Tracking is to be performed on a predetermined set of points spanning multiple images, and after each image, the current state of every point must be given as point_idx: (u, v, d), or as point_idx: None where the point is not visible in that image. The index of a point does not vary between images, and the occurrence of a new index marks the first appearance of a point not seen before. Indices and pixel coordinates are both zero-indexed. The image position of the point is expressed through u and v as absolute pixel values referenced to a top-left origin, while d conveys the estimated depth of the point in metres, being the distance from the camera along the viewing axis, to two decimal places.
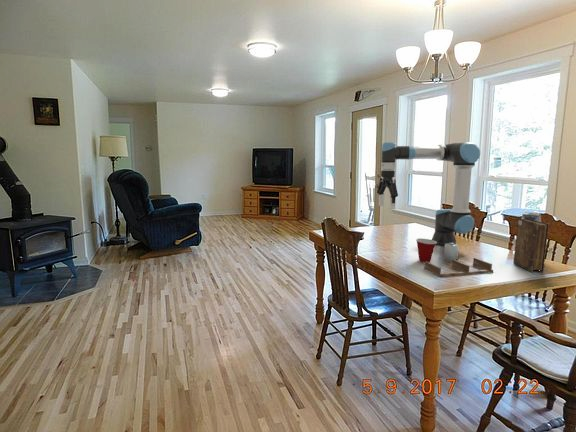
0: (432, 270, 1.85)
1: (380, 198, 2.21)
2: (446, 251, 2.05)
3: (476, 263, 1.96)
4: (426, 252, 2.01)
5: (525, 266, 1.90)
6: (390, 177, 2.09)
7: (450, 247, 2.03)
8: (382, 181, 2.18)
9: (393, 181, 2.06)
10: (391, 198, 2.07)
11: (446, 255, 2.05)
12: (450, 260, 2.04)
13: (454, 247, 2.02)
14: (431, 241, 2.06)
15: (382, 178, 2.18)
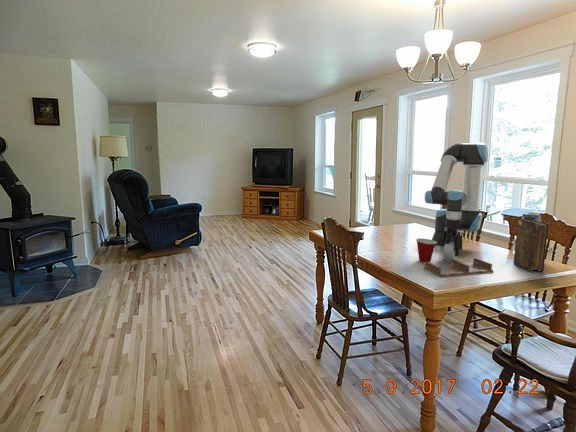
0: (432, 270, 1.85)
1: None
2: (446, 251, 2.05)
3: (476, 263, 1.96)
4: (426, 252, 2.01)
5: (525, 266, 1.90)
6: (457, 227, 2.00)
7: (450, 247, 2.03)
8: (446, 230, 2.08)
9: (460, 234, 1.98)
10: (454, 251, 2.01)
11: (446, 255, 2.05)
12: (450, 260, 2.03)
13: None
14: (431, 241, 2.06)
15: (445, 227, 2.09)
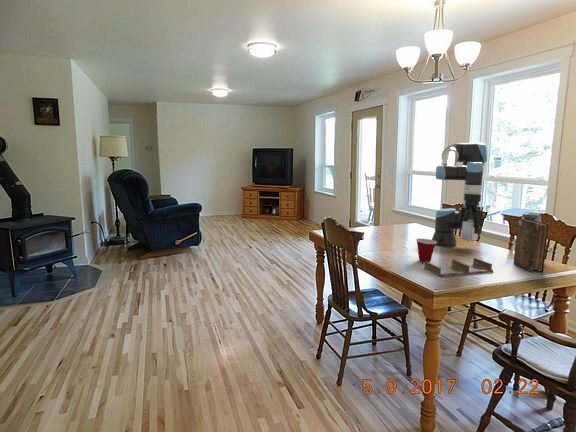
0: (432, 270, 1.85)
1: None
2: (464, 228, 1.89)
3: (476, 263, 1.96)
4: (426, 252, 2.01)
5: (525, 266, 1.90)
6: (476, 201, 1.84)
7: (469, 224, 1.87)
8: (464, 206, 1.93)
9: (480, 209, 1.82)
10: (474, 228, 1.86)
11: (464, 233, 1.89)
12: (469, 238, 1.88)
13: (473, 224, 1.86)
14: (431, 241, 2.06)
15: (463, 203, 1.94)
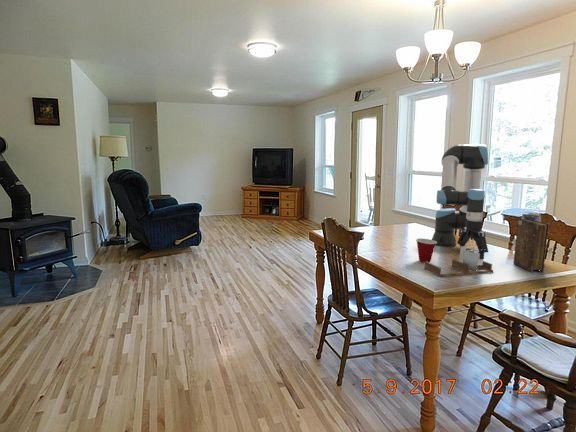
0: (432, 270, 1.85)
1: (462, 250, 1.96)
2: (465, 259, 1.90)
3: None
4: (426, 252, 2.01)
5: (525, 266, 1.90)
6: (478, 229, 1.85)
7: (470, 254, 1.88)
8: (465, 231, 1.94)
9: (482, 234, 1.82)
10: (479, 253, 1.84)
11: (465, 263, 1.90)
12: (470, 268, 1.89)
13: (474, 254, 1.87)
14: (431, 241, 2.06)
15: (465, 228, 1.94)
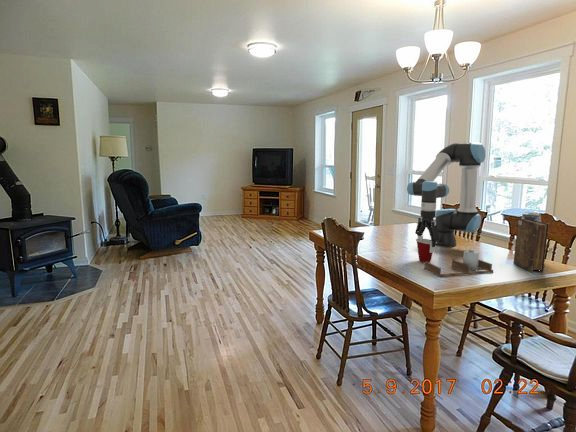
0: (432, 270, 1.85)
1: None
2: (465, 259, 1.90)
3: None
4: (426, 252, 2.01)
5: (525, 266, 1.90)
6: (431, 218, 1.98)
7: (470, 254, 1.88)
8: (421, 221, 2.06)
9: (435, 224, 1.95)
10: (431, 241, 1.97)
11: (465, 263, 1.90)
12: (470, 268, 1.89)
13: (474, 254, 1.87)
14: None
15: (421, 218, 2.07)
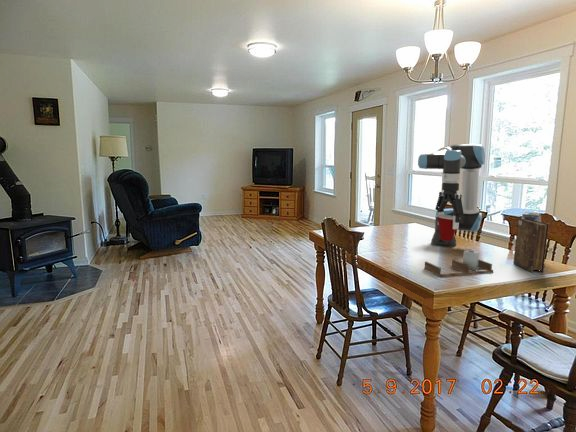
0: (432, 270, 1.85)
1: None
2: (465, 259, 1.90)
3: None
4: (448, 229, 1.82)
5: (525, 266, 1.90)
6: (454, 191, 1.79)
7: (470, 254, 1.88)
8: (442, 195, 1.88)
9: (459, 197, 1.76)
10: (454, 217, 1.78)
11: (465, 263, 1.90)
12: (470, 268, 1.89)
13: (474, 254, 1.87)
14: None
15: (442, 192, 1.88)
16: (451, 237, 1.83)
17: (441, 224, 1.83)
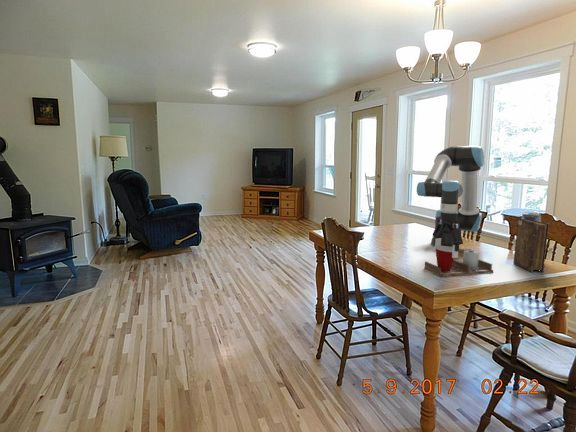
0: (432, 270, 1.85)
1: (437, 242, 1.93)
2: (465, 259, 1.90)
3: None
4: (446, 261, 1.85)
5: (525, 266, 1.90)
6: (452, 221, 1.81)
7: (470, 254, 1.88)
8: (440, 223, 1.90)
9: (457, 226, 1.78)
10: (454, 245, 1.80)
11: (465, 263, 1.90)
12: (470, 268, 1.89)
13: (474, 254, 1.87)
14: (451, 248, 1.90)
15: (440, 220, 1.90)
16: (449, 269, 1.86)
17: (439, 256, 1.86)
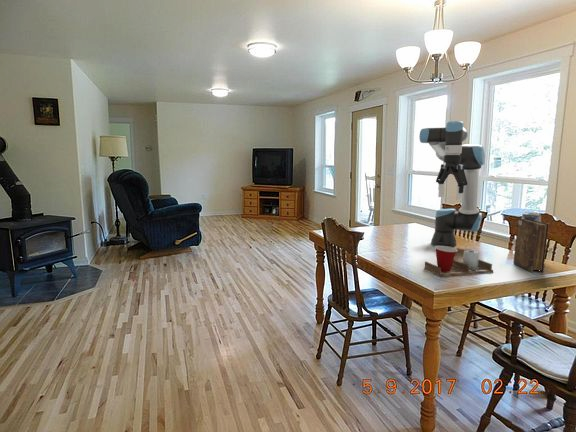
0: (432, 270, 1.85)
1: (440, 188, 1.88)
2: (465, 259, 1.90)
3: None
4: (446, 261, 1.85)
5: (525, 266, 1.90)
6: (456, 162, 1.77)
7: (470, 254, 1.88)
8: (444, 168, 1.85)
9: (461, 167, 1.74)
10: (458, 187, 1.75)
11: (465, 263, 1.90)
12: (470, 268, 1.89)
13: (474, 254, 1.87)
14: (451, 248, 1.90)
15: (444, 164, 1.86)
16: (449, 269, 1.86)
17: (439, 256, 1.86)
